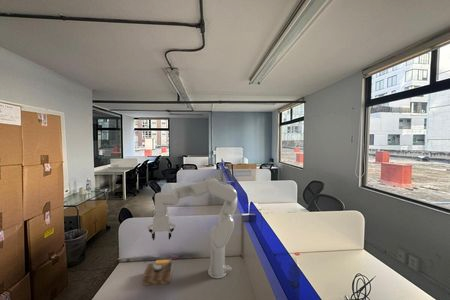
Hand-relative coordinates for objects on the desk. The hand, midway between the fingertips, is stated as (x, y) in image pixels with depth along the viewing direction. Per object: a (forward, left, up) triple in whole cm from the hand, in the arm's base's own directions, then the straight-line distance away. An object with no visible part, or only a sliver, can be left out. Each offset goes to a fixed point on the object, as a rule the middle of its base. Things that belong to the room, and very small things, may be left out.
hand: (161, 238), depth 133 cm
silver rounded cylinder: (+2, 0, -25) cm, 25 cm away
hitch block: (+2, 0, -26) cm, 26 cm away
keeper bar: (-1, 0, -16) cm, 16 cm away
